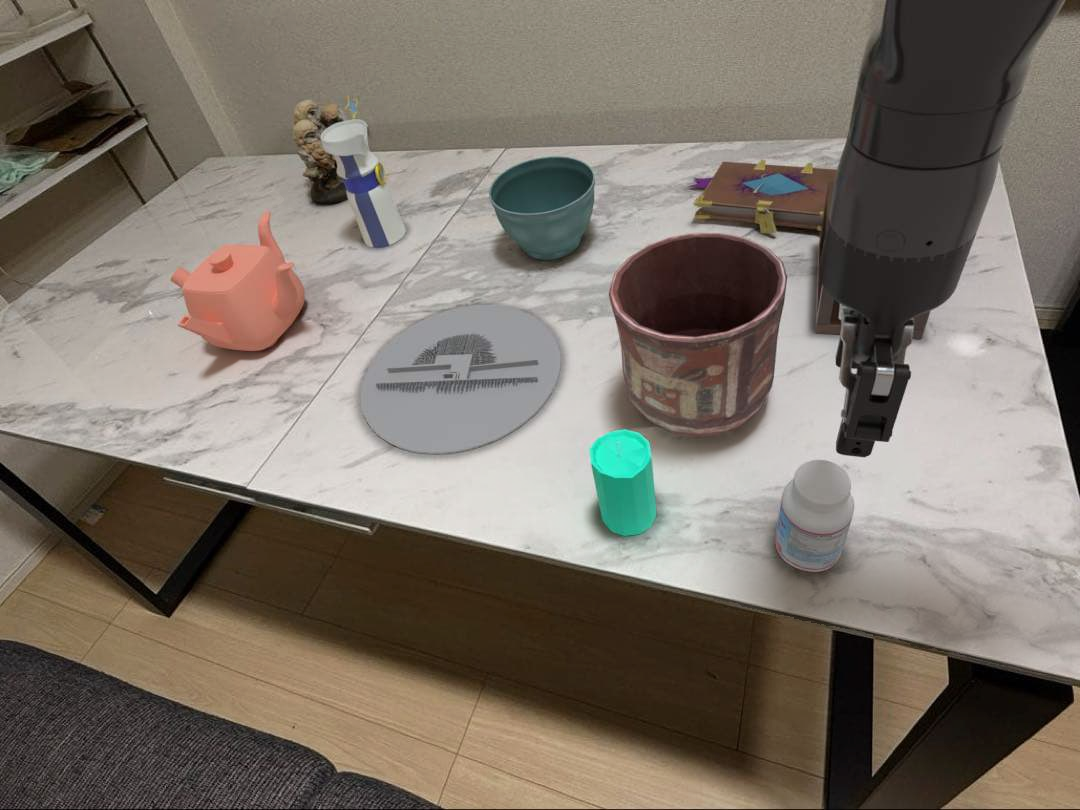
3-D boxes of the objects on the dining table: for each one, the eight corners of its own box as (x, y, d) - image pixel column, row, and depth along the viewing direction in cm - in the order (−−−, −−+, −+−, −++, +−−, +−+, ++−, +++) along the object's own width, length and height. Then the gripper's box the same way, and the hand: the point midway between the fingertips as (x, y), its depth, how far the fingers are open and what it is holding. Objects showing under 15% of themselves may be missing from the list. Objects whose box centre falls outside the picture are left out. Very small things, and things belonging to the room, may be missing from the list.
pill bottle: (785, 511, 68) (796, 444, 60) (848, 533, 66) (869, 465, 57) (766, 560, 65) (775, 495, 57) (831, 584, 62) (850, 520, 54)
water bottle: (411, 217, 121) (360, 77, 103) (404, 244, 116) (349, 101, 98) (368, 224, 123) (311, 86, 104) (359, 251, 117) (296, 110, 99)
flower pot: (618, 221, 109) (611, 159, 101) (576, 282, 100) (565, 219, 92) (532, 210, 116) (520, 152, 108) (486, 266, 107) (469, 206, 99)
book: (697, 177, 115) (697, 149, 111) (851, 189, 105) (856, 159, 101) (665, 226, 105) (664, 197, 102) (830, 245, 95) (836, 213, 92)
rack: (911, 250, 91) (931, 179, 84) (921, 339, 80) (945, 267, 73) (818, 248, 95) (828, 180, 87) (815, 333, 84) (826, 264, 76)
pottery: (629, 349, 88) (617, 234, 75) (769, 347, 84) (781, 225, 71) (617, 456, 77) (600, 342, 64) (778, 460, 73) (795, 339, 60)
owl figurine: (350, 208, 128) (312, 122, 115) (298, 209, 131) (256, 125, 119) (386, 160, 139) (355, 76, 127) (338, 162, 143) (303, 81, 130)
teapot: (304, 275, 115) (266, 205, 105) (331, 331, 103) (291, 257, 93) (202, 320, 111) (152, 251, 101) (217, 384, 99) (163, 313, 89)
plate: (333, 454, 85) (329, 448, 84) (393, 310, 103) (391, 304, 102) (546, 454, 79) (544, 448, 78) (571, 301, 97) (570, 295, 96)
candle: (596, 532, 71) (581, 465, 62) (605, 486, 74) (593, 416, 66) (653, 539, 69) (646, 470, 60) (660, 491, 73) (654, 420, 64)
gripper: (1000, 298, 31) (915, 493, 43) (964, 146, 40) (901, 343, 52) (828, 291, 34) (792, 478, 45) (829, 148, 42) (799, 336, 54)
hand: (851, 406), depth 49 cm, fingers open, 8 cm apart
